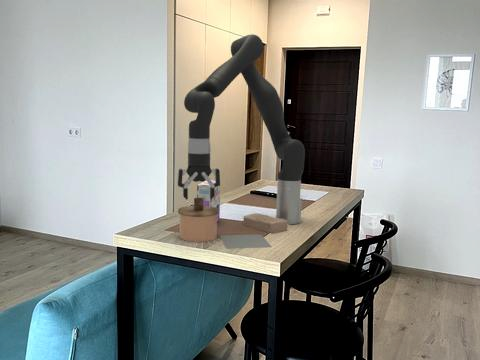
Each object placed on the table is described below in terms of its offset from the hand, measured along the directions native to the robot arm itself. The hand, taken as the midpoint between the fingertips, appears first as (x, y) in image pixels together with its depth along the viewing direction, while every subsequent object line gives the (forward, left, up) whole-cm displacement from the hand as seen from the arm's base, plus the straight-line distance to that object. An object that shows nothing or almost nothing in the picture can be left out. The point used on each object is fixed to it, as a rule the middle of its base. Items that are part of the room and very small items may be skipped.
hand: (198, 198), depth 159 cm
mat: (-15, +7, -14) cm, 22 cm away
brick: (-26, -10, -14) cm, 31 cm away
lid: (0, 0, -5) cm, 5 cm away
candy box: (-6, -19, -14) cm, 24 cm away
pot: (0, 0, -14) cm, 14 cm away
